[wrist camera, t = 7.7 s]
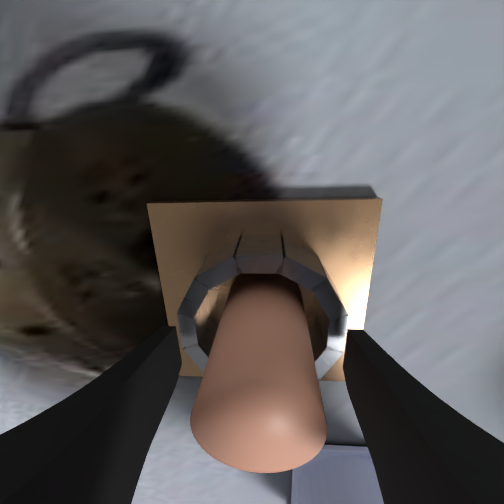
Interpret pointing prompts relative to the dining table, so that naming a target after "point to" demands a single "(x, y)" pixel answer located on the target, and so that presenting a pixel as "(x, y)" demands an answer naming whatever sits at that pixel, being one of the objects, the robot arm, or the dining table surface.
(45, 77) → the dining table surface
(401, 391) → the robot arm
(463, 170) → the dining table surface
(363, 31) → the dining table surface
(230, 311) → the rail post
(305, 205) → the cup bracket
